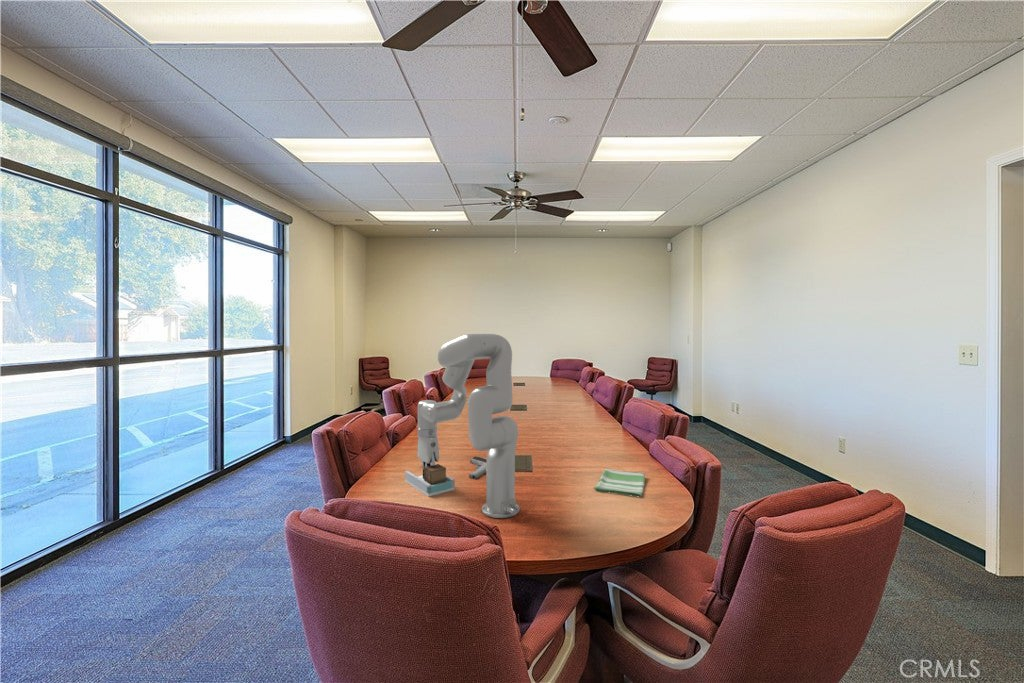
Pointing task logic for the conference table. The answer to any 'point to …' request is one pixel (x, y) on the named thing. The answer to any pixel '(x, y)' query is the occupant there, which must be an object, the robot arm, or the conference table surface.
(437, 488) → the bay
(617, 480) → the dish towel
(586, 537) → the conference table surface
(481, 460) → the pistol
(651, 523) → the conference table surface
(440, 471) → the block
